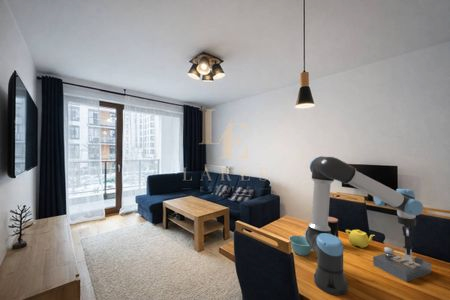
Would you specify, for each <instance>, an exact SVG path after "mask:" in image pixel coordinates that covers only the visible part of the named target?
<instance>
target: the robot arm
mask: <svg viewBox="0 0 450 300" xmlns="http://www.w3.org/2000/svg"><path fill="white" fill-rule="evenodd" d="M309 170H310V172H311V180H312V181H313V182H314V183H313V194H312V195H313V197H312V209H311V222H309V223H307V224H308V227H307V228H306V229H305V232H304V237H305V238H306V240H307V242H308V244H309V245H310V246H311V247H312V250H314V253H316V258H317V261H316V262H317V266H316V269H315V272H314V275H313V282H314V284H315V286H316V287H317V288H319V289H320V290H321V291H323V292H325V293H328V294H330V295H335V296H343V295H347V293H348V292H349V284H348V281H347V279H346V275H345V273H344V244H343V242H342V240H341V238H339V236H338V237H336V236H333V235H332V234H330V231H331V229H330V227H329V226H328V217H329V212H330V199H331V185H332V183H334V182H335V181H337V182H340V183H342V184H345V185H347V184H349V185H350V186H353V187H354V188H356V189H359V190H360V191H362V192H364V193H366V194H367V195H370V196H372V197H373V202H374V204H375V205H376V206H378V207H388V208H391V209H393V210H396V214H397V223H398V224H399V225H402V228H401V229H402V233H403V237H404V246H402V247H403V249H404V253H405V260H409V261H412V256H413V252H412V249H414V247H413V246H412V237H413V235H412V233H413V227H415V226H417V219H416V216H419V215H421V214H422V213H423V211H424V205H423V203H422V202H421V201H419V200H417V199H416V197H415V196H416V195H415V191H414V190H413V189H408V188H396V190H394V189H392V188H391V187H389V186H386V185H385V184H383V183H381V182H379V181H377V180H375V179H373V178H371V177H369V176H367V175H365V174H363V173H361V172H359V171H358V170H357V168H355V167H354V166H352V165H351V164H349V163H347V162H345V161H344V160H341V159H339V158H338V157H334V156H323V155H322V156H317V157H314V158H313V159H312V160H311V161H310V163H309Z"/></svg>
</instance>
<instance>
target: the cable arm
mask: <svg viewBox="0 0 450 300" xmlns="http://www.w3.org/2000/svg"><path fill="white" fill-rule="evenodd" d="M383 251H384V254H385V253H387V254H393V255H396V256H399V257H402V258H405V252H403V251H400V250H398V251H396V249H393V248H392V247H388V246H385V247H384V248H383ZM399 251H400V252H399ZM402 252H403V253H402ZM412 261H414V262H415V263H418V264H421V265H422V264H423V261H424V258H422V257H418V256H414V255H412Z"/></svg>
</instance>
